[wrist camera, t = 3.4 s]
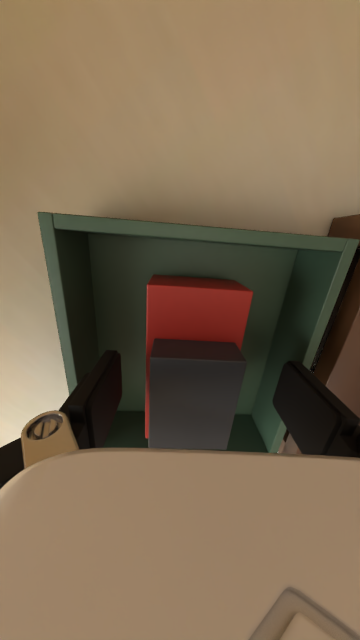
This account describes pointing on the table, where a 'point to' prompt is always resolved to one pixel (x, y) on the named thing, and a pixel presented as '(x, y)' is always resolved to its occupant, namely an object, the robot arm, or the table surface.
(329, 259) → the storage box
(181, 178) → the table surface
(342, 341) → the walnut stand
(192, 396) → the toy car
